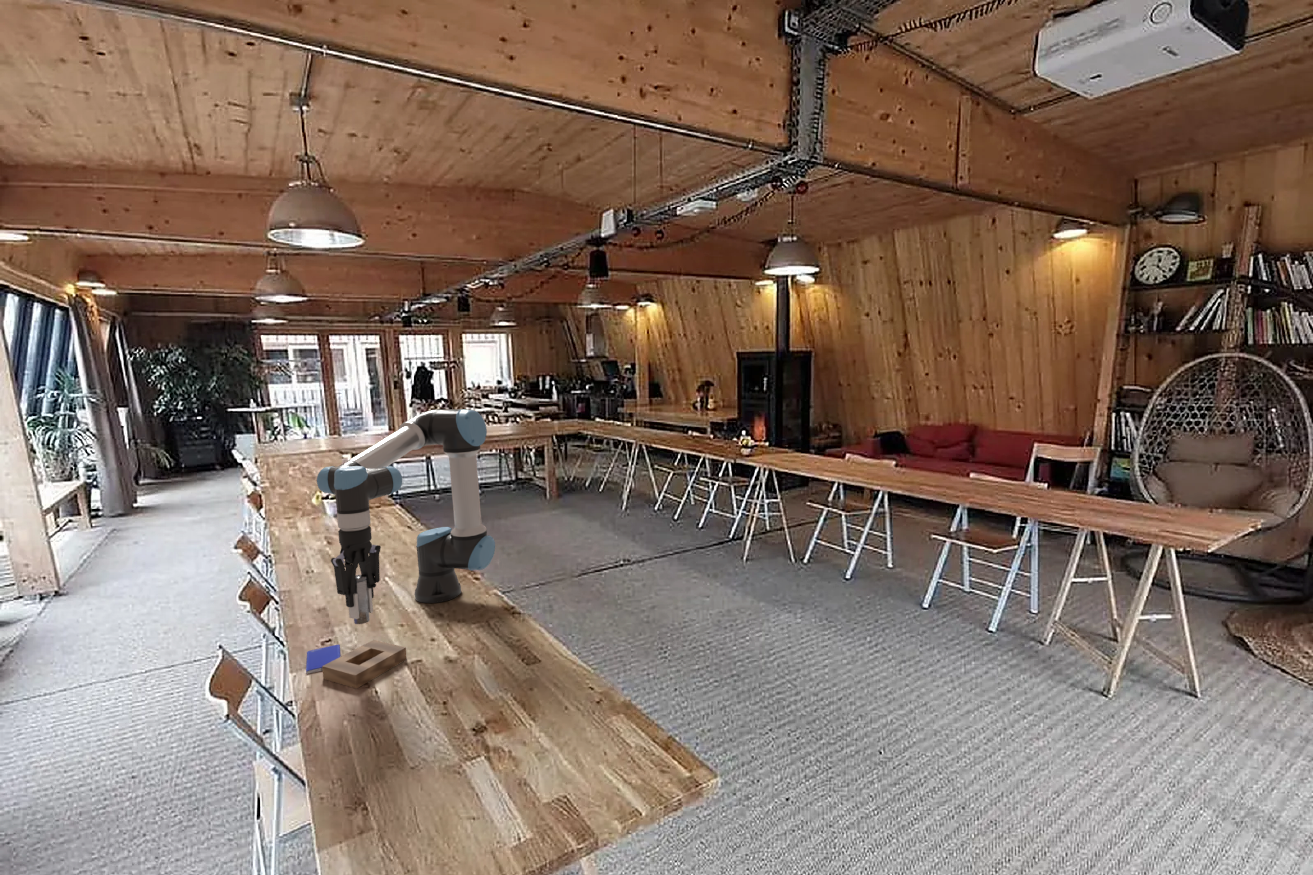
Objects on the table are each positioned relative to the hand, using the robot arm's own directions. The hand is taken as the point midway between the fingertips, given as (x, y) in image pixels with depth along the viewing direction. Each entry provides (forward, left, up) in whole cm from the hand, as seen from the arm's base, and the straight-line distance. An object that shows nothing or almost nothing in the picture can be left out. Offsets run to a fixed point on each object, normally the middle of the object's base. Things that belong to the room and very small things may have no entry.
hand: (361, 614), depth 160 cm
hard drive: (+1, -15, -16) cm, 22 cm away
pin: (0, 0, -2) cm, 2 cm away
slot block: (0, 0, -15) cm, 15 cm away
